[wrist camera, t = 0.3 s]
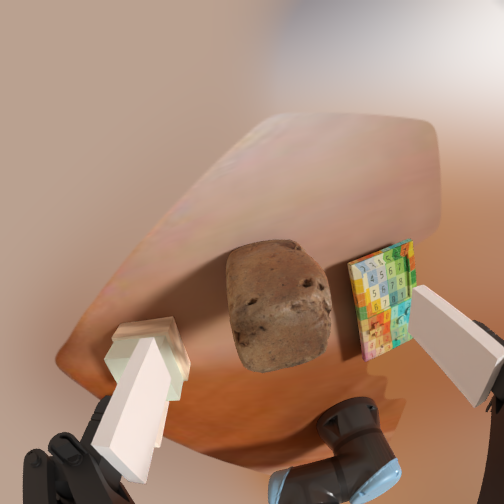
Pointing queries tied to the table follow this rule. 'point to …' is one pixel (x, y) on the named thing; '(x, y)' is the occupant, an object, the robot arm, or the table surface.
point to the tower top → (123, 352)
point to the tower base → (157, 329)
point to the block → (277, 305)
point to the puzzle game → (383, 297)
